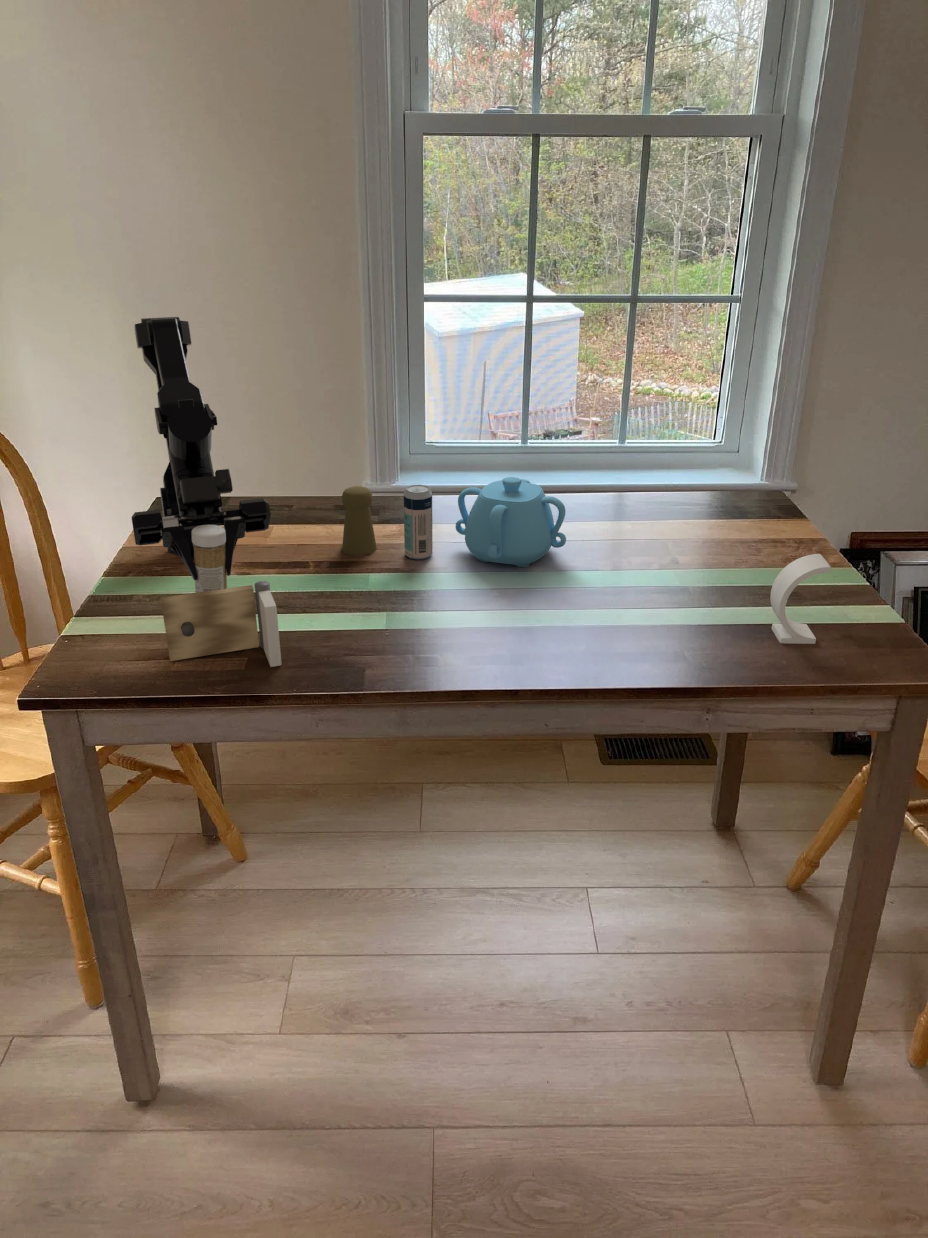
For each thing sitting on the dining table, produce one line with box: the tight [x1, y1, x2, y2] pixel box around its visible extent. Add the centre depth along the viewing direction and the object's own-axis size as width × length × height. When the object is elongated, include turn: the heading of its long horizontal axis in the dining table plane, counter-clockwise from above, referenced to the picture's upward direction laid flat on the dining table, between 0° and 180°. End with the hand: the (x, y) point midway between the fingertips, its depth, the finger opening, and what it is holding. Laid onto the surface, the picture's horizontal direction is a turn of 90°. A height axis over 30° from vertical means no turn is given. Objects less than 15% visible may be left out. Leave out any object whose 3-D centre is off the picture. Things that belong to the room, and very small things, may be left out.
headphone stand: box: [769, 553, 832, 645], centre depth 134 cm, size 5×6×12 cm
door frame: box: [254, 580, 283, 668], centre depth 128 cm, size 7×2×10 cm, turn 21°
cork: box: [341, 485, 378, 557], centre depth 162 cm, size 6×6×11 cm
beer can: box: [403, 484, 434, 560], centre depth 159 cm, size 5×5×12 cm
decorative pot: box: [455, 476, 567, 568], centre depth 159 cm, size 16×16×14 cm
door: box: [160, 584, 260, 662], centre depth 128 cm, size 12×2×9 cm, turn 111°
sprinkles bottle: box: [192, 525, 228, 593], centre depth 133 cm, size 5×5×14 cm
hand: (212, 577), depth 132 cm, fingers closed on sprinkles bottle, 4 cm apart
